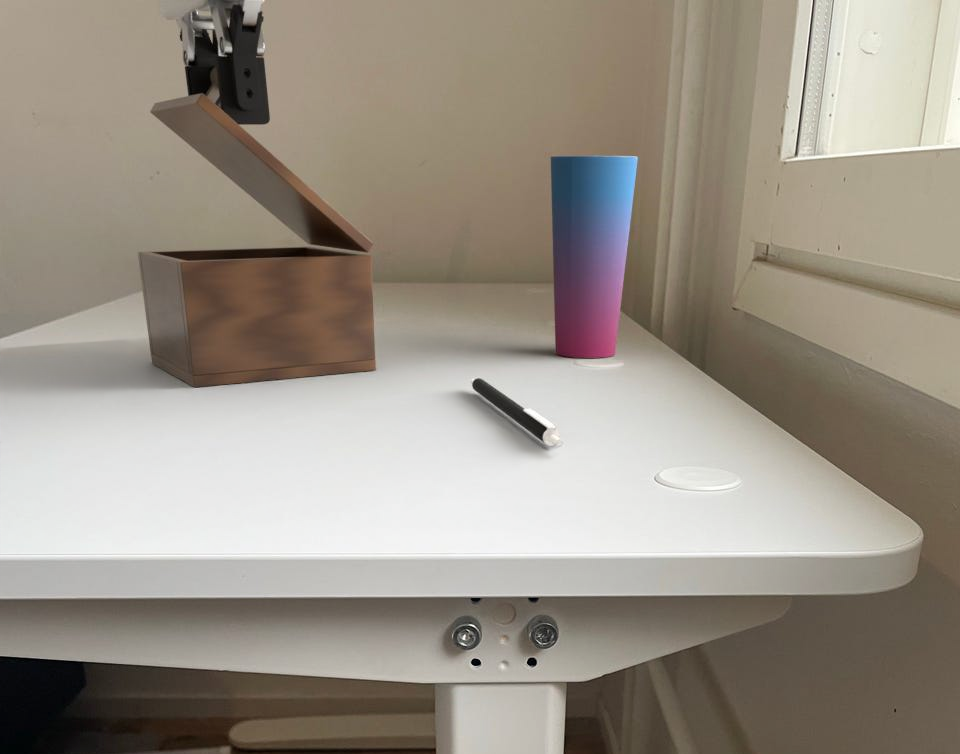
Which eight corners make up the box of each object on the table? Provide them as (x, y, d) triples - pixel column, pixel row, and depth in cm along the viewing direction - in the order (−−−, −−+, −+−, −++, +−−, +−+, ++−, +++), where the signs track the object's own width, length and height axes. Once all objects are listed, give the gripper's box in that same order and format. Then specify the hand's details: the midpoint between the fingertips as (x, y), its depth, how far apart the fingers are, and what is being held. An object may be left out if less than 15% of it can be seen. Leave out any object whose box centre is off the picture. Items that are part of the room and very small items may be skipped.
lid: (195, 103, 65) (240, 30, 65) (149, 111, 74) (188, 48, 74) (368, 253, 75) (408, 190, 74) (308, 244, 84) (343, 188, 84)
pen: (550, 451, 54) (551, 431, 54) (465, 386, 71) (466, 370, 71) (566, 451, 55) (567, 430, 54) (478, 386, 71) (478, 370, 71)
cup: (571, 344, 90) (578, 157, 84) (640, 352, 87) (653, 157, 80) (529, 354, 85) (534, 156, 79) (600, 362, 82) (611, 155, 75)
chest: (194, 387, 72) (180, 262, 68) (151, 363, 81) (137, 251, 77) (376, 370, 78) (371, 255, 75) (317, 350, 87) (311, 246, 84)
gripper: (103, -161, 70) (145, 132, 77) (174, -246, 56) (217, 120, 64) (210, -148, 73) (240, 132, 81) (301, -225, 60) (328, 120, 67)
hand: (230, 124), depth 72 cm, fingers closed on lid, 6 cm apart
